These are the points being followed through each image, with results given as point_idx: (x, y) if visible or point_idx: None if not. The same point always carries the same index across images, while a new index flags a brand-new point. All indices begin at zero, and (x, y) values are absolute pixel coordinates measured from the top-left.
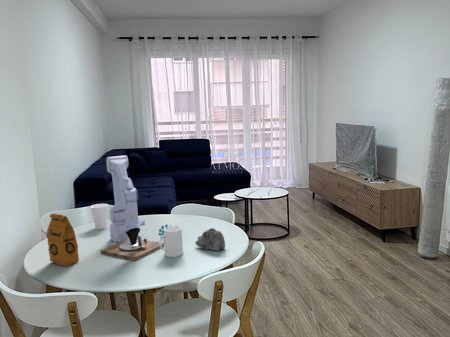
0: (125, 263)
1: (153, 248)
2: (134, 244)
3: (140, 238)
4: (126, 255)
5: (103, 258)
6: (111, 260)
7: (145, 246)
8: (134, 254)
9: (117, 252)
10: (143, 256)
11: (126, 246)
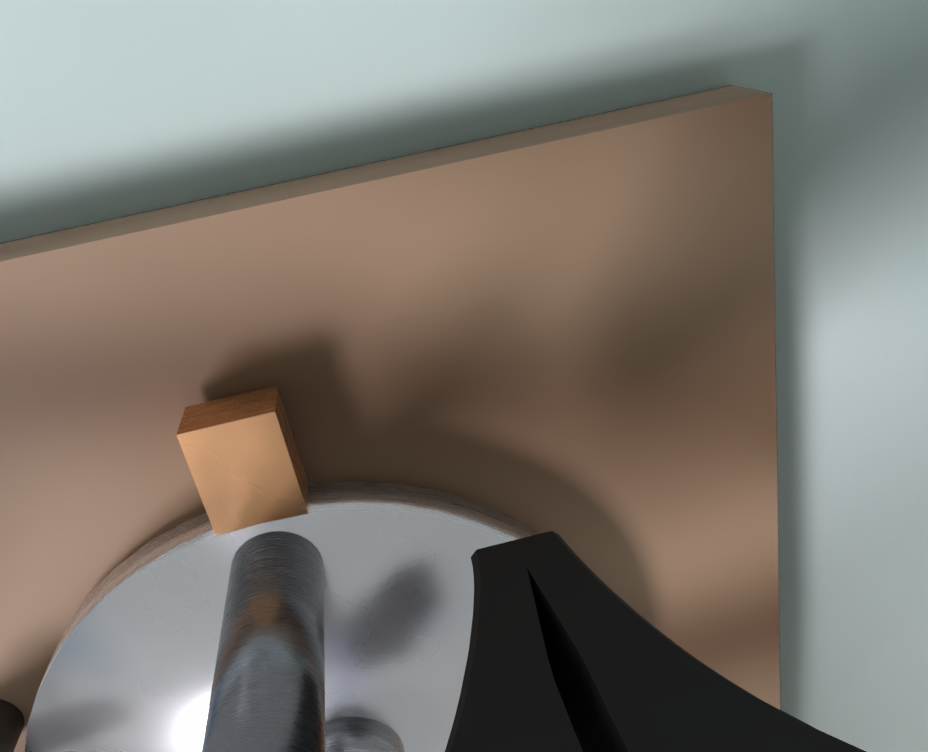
0: (924, 138)
1: (18, 261)
2: (552, 534)
3: (263, 694)
4: (760, 378)
5: (895, 647)
6: (910, 486)
7: (202, 426)
8: (623, 291)
9: (728, 642)
10: (439, 150)
11: None
